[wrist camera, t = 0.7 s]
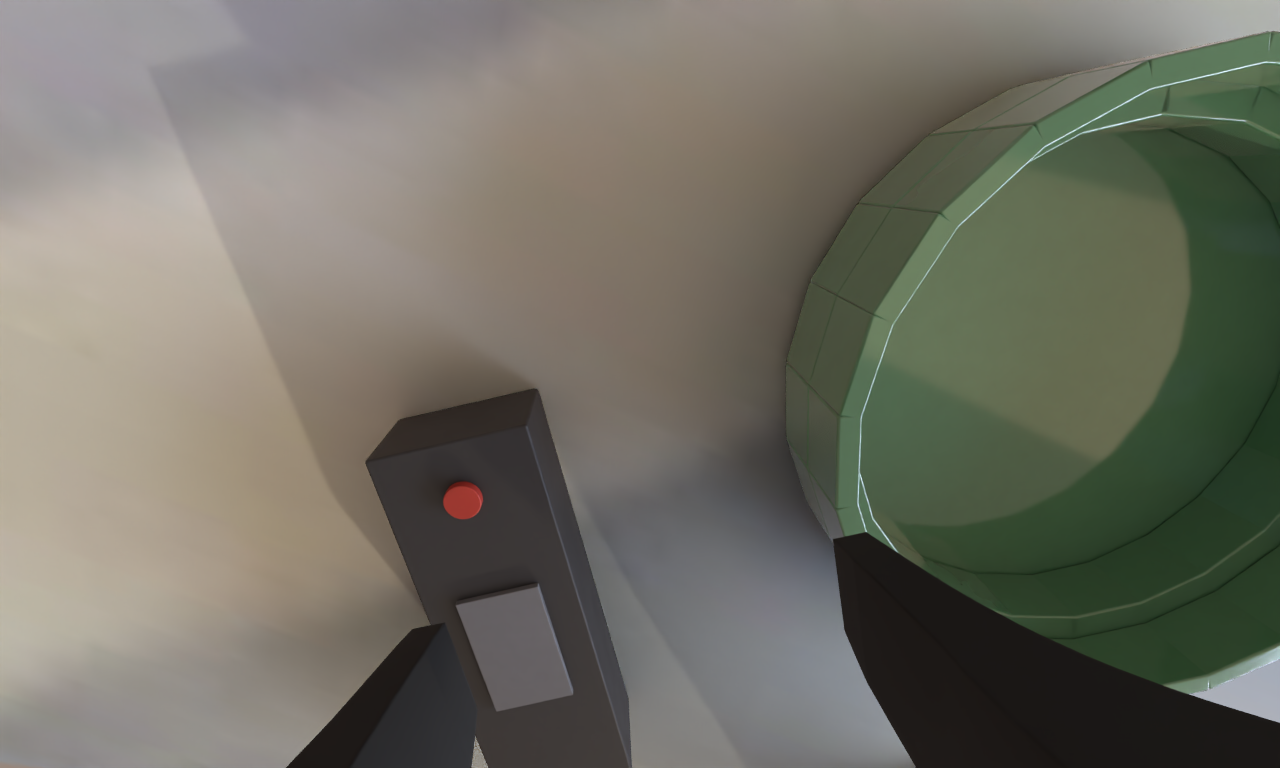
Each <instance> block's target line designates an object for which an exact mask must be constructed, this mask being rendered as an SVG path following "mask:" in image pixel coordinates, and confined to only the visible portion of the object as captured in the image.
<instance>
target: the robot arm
mask: <svg viewBox="0 0 1280 768" xmlns="http://www.w3.org/2000/svg"><path fill="white" fill-rule="evenodd" d="M833 544H834V552H835V559H836V567H837V575H838V583H839V590H840V598H841V606H842V614H843V621H844V629H845V632H846V635H847V637H848V639H849V642H850V644H851V646H852V649H853V651H854V654H855V656H856V658H857V661H858V663H859V665H860V667H861V670H862V672H863V674H864V676H865V679H866V681H867V683H868V685H869V686H870V688H871V690H872V692H873V694H874V695H875V697H876V699H877V701H878V702H879V704H880V706H881V708H882V709H883V711H884V713H885V715H886V716H887V718H888V720H889V722H890V723H891V725H892V727H893V728H894V730H895V732H896V734H897V735H898V737H899V739H900V741H901V742H902V744H903V746H904V747H905V749H906V751H907V753H908V754H909V756H910V758H911V759H912V761H913V763H914V765H915V766H916V768H1280V723H1278V722H1275V721H1271V720H1268V719H1265V718H1261V717H1258V716H1255V715H1252V714H1249V713H1245V712H1242V711H1239V710H1236V709H1232V708H1229V707H1226V706H1223V705H1219V704H1216V703H1213V702H1210V701H1207V700H1204V699H1201V698H1198V697H1195V696H1192V695H1189V694H1186V693H1183V692H1180V691H1177V690H1174V689H1171V688H1169V687H1166V686H1163V685H1161V684H1158V683H1155V682H1153V681H1150V680H1147V679H1145V678H1142V677H1139V676H1137V675H1134V674H1131V673H1129V672H1126V671H1123V670H1121V669H1118V668H1116V667H1113V666H1111V665H1108V664H1106V663H1103V662H1101V661H1098V660H1096V659H1094V658H1091V657H1089V656H1086V655H1084V654H1082V653H1080V652H1077V651H1075V650H1073V649H1071V648H1069V647H1066V646H1064V645H1062V644H1060V643H1058V642H1055V641H1053V640H1051V639H1049V638H1047V637H1044V636H1042V635H1040V634H1038V633H1036V632H1034V631H1032V630H1030V629H1028V628H1026V627H1024V626H1022V625H1020V624H1018V623H1016V622H1014V621H1012V620H1010V619H1008V618H1007V617H1005V616H1003V615H1001V614H999V613H997V612H995V611H993V610H992V609H990V608H988V607H986V606H984V605H982V604H980V603H979V602H977V601H975V600H973V599H972V598H970V597H968V596H966V595H965V594H963V593H961V592H960V591H958V590H956V589H955V588H953V587H951V586H950V585H948V584H946V583H945V582H943V581H941V580H940V579H938V578H936V577H935V576H933V575H932V574H930V573H928V572H927V571H925V570H924V569H922V568H921V567H919V566H918V565H916V564H914V563H913V562H911V561H910V560H908V559H907V558H905V557H904V556H902V555H901V554H899V553H898V552H896V551H895V550H893V549H891V548H890V547H888V546H887V545H885V544H884V543H882V542H881V541H879V540H878V539H876V538H875V537H873V536H872V535H870V534H869V533H867V532H864V533H859V534H854V535H850V536H845V537H840V538H836V539H833ZM477 709H478V708H477V705H476V703H475V700H474V697H473V695H472V692H471V690H470V687H469V684H468V682H467V679H466V676H465V674H464V671H463V668H462V666H461V663H460V661H459V658H458V655H457V653H456V650H455V647H454V645H453V642H452V639H451V637H450V634H449V632H448V629H447V626H446V624H445V622H444V623H439V624H435V625H430V626H425V627H421V628H416V629H412V630H411V631H410V632H409V633H408V634H407V636H406V637H405V638H404V639H403V640H402V641H401V642H400V643H399V644H398V645H397V646H396V647H395V648H394V650H393V651H392V652H391V653H390V654H389V655H388V656H387V658H386V659H385V660H384V661H383V662H382V663H381V664H380V666H379V667H378V668H377V669H376V670H375V671H374V672H373V674H372V675H371V676H370V677H369V678H368V679H367V680H366V682H365V683H364V684H363V685H362V686H361V687H360V688H359V689H358V691H357V692H356V693H355V694H354V695H353V696H352V697H351V698H350V700H349V701H348V702H347V703H346V704H345V705H344V706H343V707H342V709H341V710H340V711H339V712H338V713H337V714H336V715H335V716H334V718H333V719H332V720H331V721H330V722H329V723H328V724H327V725H326V726H325V727H324V728H323V729H322V730H321V732H320V733H319V734H318V735H317V736H316V737H315V738H314V739H313V740H312V741H311V742H310V743H309V744H308V745H307V746H306V747H305V748H304V749H303V750H302V751H301V753H300V754H299V755H298V756H297V757H296V758H295V759H294V760H293V761H292V762H291V763H290V764H289V765H288V766H287V767H286V768H471V765H472V757H473V749H474V741H475V730H476V720H477Z"/></svg>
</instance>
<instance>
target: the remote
mask: <svg viewBox="0 0 1280 768" xmlns="http://www.w3.org/2000/svg"><path fill="white" fill-rule="evenodd" d="M366 466H367V468H368V471H369V473H370V476H371V478H372V481H373V483H374V486H375V488H376V491H377V493H378V496H379V498H380V501H381V503H382V505H383V508H384V510H385V513H386V515H387V518H388V520H389V523H390V525H391V528H392V530H393V533H394V535H395V538H396V540H397V543H398V545H399V548H400V550H401V553H402V555H403V557H404V560H405V562H406V565H407V567H408V570H409V572H410V575H411V577H412V580H413V582H414V585H415V587H416V590H417V592H418V595H419V597H420V600H421V602H422V604H423V607H424V609H425V612H426V614H427V617H428V619H429V622H430V624H431V625H435V624H439V623H444V622H445V624H446V626H447V629H448V632H449V634H450V637H451V639H452V642H453V645H454V647H455V650H456V653H457V655H458V658H459V661H460V663H461V666H462V668H463V671H464V674H465V676H466V679H467V682H468V684H469V687H470V690H471V692H472V695H473V697H474V700H475V703H476V705H477V708H478V709H477V720H476V730H475V736H476V738H477V741H478V743H479V746H480V748H481V751H482V753H483V755H484V758H485V760H486V763H487V765H488V768H632V760H631V740H630V720H629V701H628V696H627V692H626V689H625V686H624V682H623V679H622V675H621V672H620V668H619V665H618V662H617V658H616V655H615V651H614V648H613V644H612V641H611V638H610V634H609V631H608V627H607V624H606V621H605V617H604V614H603V610H602V607H601V603H600V600H599V597H598V593H597V590H596V586H595V583H594V579H593V576H592V573H591V569H590V566H589V562H588V559H587V555H586V552H585V549H584V545H583V542H582V538H581V535H580V531H579V528H578V525H577V521H576V518H575V514H574V511H573V508H572V504H571V501H570V497H569V494H568V490H567V487H566V484H565V480H564V477H563V473H562V470H561V466H560V463H559V460H558V456H557V453H556V449H555V446H554V442H553V439H552V436H551V432H550V429H549V425H548V422H547V419H546V415H545V412H544V408H543V405H542V401H541V398H540V395H539V391H538V389H531V390H527V391H522V392H518V393H514V394H509V395H505V396H501V397H496V398H492V399H488V400H483V401H479V402H475V403H470V404H466V405H461V406H457V407H453V408H448V409H444V410H440V411H435V412H431V413H427V414H422V415H418V416H414V417H409V418H405V419H401V420H399V421H398V422H397V423H396V424H395V426H394V427H393V428H392V429H391V430H390V432H389V433H388V434H387V435H386V437H385V438H384V439H383V440H382V442H381V443H380V444H379V445H378V446H377V448H376V449H375V450H374V451H373V453H372V454H371V455H370V456H369V457H368V459H367V460H366Z"/></svg>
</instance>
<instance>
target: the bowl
mask: <svg viewBox="0 0 1280 768" xmlns="http://www.w3.org/2000/svg"><path fill="white" fill-rule="evenodd" d="M787 362H788V363H786V437H787V443H788V446H789V449H790V452H791V455H792V458H793V461H794V464H795V467H796V470H797V473H798V476H799V479H800V482H801V485H802V488H803V491H804V494H805V498H806V501H807V503H808V504H809V506H810V508H811V510H812V511H813V513H814V514H815V516H816V518H817V519H818V521H819V522H820V524H821V526H822V527H823V529H824V530H825V532H826V534H827V535H828V537H829V538H830V540H831V542H832V544H833V539H836V538H840V537H845V536H850V535H854V534H859V533H864V532H867V533H869V534H870V535H872V536H873V537H875V538H876V539H878V540H879V541H881V542H882V543H884V544H885V545H887V546H888V547H890V548H891V549H893V550H895V551H896V552H898V553H899V554H901V555H902V556H904V557H905V558H907V559H908V560H910V561H911V562H913V563H914V564H916V565H918V566H919V567H921V568H922V569H924V570H925V571H927V572H928V573H930V574H932V575H933V576H935V577H936V578H938V579H940V580H941V581H943V582H945V583H946V584H948V585H950V586H951V587H953V588H955V589H956V590H958V591H960V592H961V593H963V594H965V595H966V596H968V597H970V598H972V599H973V600H975V601H977V602H979V603H980V604H982V605H984V606H986V607H988V608H990V609H992V610H993V611H995V612H997V613H999V614H1001V615H1003V616H1005V617H1007V618H1008V619H1010V620H1012V621H1014V622H1016V623H1018V624H1020V625H1022V626H1024V627H1026V628H1028V629H1030V630H1032V631H1034V632H1036V633H1038V634H1040V635H1042V636H1044V637H1047V638H1049V639H1051V640H1053V641H1055V642H1058V643H1060V644H1062V645H1064V646H1066V647H1069V648H1071V649H1073V650H1075V651H1077V652H1080V653H1082V654H1084V655H1086V656H1089V657H1091V658H1094V659H1096V660H1098V661H1101V662H1103V663H1106V664H1108V665H1111V666H1113V667H1116V668H1118V669H1121V670H1123V671H1126V672H1129V673H1131V674H1134V675H1137V676H1139V677H1142V678H1145V679H1147V680H1150V681H1153V682H1155V683H1158V684H1161V685H1163V686H1166V687H1169V688H1171V689H1174V690H1177V691H1180V692H1183V693H1186V694H1193V693H1198V692H1202V691H1207V690H1208V689H1213V688H1215V687H1217V686H1219V685H1222V684H1224V683H1226V682H1229V681H1231V680H1233V679H1235V678H1238V677H1240V676H1242V675H1245V674H1247V673H1249V672H1251V671H1254V670H1256V669H1258V668H1261V667H1263V666H1265V665H1268V664H1270V663H1272V662H1274V661H1277V660H1279V659H1280V32H1277V31H1271V32H1268V31H1266V32H1262V33H1257V34H1252V35H1247V36H1243V37H1238V38H1233V39H1228V40H1224V41H1219V42H1214V43H1209V44H1205V45H1200V46H1195V47H1190V48H1186V49H1181V50H1176V51H1172V52H1167V53H1162V54H1157V55H1153V56H1148V57H1143V58H1138V59H1134V60H1129V61H1124V62H1119V63H1115V64H1110V65H1105V66H1101V67H1096V68H1092V69H1088V70H1084V71H1079V72H1075V73H1071V74H1067V75H1062V76H1058V77H1054V78H1049V79H1045V80H1041V81H1037V82H1032V83H1028V84H1024V85H1020V86H1017V87H1014V88H1011V89H1009V90H1007V91H1005V92H1004V93H1002V94H1000V95H998V96H996V97H995V98H993V99H991V100H989V101H988V102H986V103H984V104H982V105H980V106H979V107H977V108H975V109H973V110H971V111H970V112H968V113H966V114H964V115H963V116H961V117H959V118H957V119H955V120H954V121H952V122H950V123H948V124H946V125H945V126H943V127H941V128H939V129H937V130H936V131H934V132H932V133H930V134H929V136H927V137H925V138H924V139H923V140H922V141H921V142H920V143H919V144H918V145H917V146H916V147H915V148H914V149H913V150H912V151H911V152H910V153H909V154H908V155H907V156H906V157H905V158H904V159H903V160H902V161H901V162H900V163H899V164H897V165H896V166H895V167H894V168H893V169H892V170H891V171H890V172H889V173H888V174H887V175H886V176H885V177H884V178H883V179H882V180H881V181H880V182H879V183H878V184H877V185H876V186H875V187H874V188H873V189H872V190H871V191H869V192H868V193H867V194H866V195H865V196H864V197H863V198H862V199H861V200H860V202H859V204H857V205H856V207H855V208H854V210H853V212H852V213H851V215H850V217H849V218H848V220H847V221H846V223H845V225H844V226H843V228H842V230H841V231H840V233H839V234H838V236H837V238H836V239H835V241H834V243H833V244H832V246H831V247H830V249H829V251H828V252H827V254H826V256H825V257H824V259H823V261H822V262H821V264H820V265H819V267H818V269H817V270H816V272H815V274H814V275H813V277H812V278H811V282H810V283H809V286H808V289H807V292H806V296H805V299H804V303H803V306H802V309H801V313H800V316H799V320H798V323H797V326H796V330H795V333H794V337H793V340H792V343H791V347H790V350H789V354H788V357H787ZM833 545H834V544H833Z"/></svg>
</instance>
